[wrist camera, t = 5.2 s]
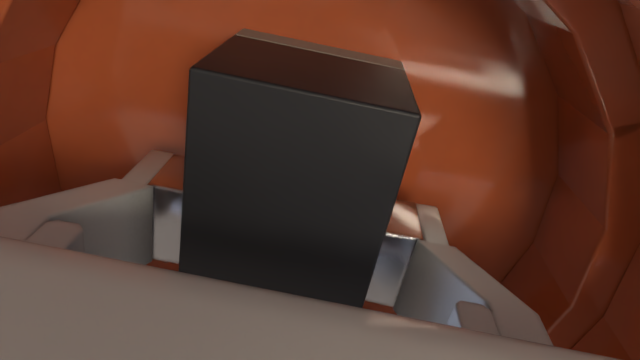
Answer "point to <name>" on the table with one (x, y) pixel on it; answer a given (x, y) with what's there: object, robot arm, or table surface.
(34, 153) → the terracotta bowl
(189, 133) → the eraser
